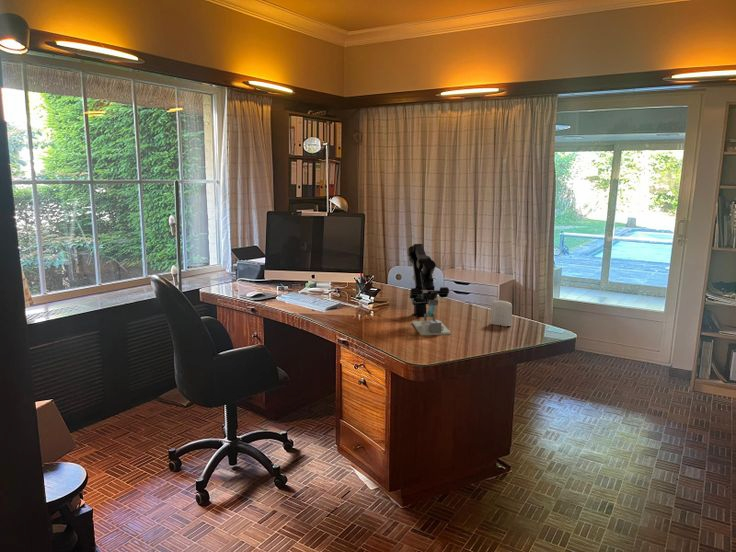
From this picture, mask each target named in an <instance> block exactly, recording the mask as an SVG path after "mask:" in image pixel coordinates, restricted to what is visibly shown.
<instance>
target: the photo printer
mask: <svg viewBox="0 0 736 552" xmlns="http://www.w3.org/2000/svg"><path fill="white" fill-rule="evenodd" d="M490 313H491V314H490V324H491V325H494V326H495V325H496V326H500V325H501V327H507V326H511V327H512V319H513V318H512V317H513V304H512V303H511V302H509V301H506V300H493V301H492V302H491V312H490Z"/></svg>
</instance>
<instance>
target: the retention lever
mask: <svg viewBox="0 0 736 552" xmlns="http://www.w3.org/2000/svg"><path fill="white" fill-rule="evenodd" d="M436 306H439V300H438V299H434V300H429V305H428V308H427V311H426V314H427V316H426V318H433V314H435V310H436Z"/></svg>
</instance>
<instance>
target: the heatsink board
mask: <svg viewBox="0 0 736 552" xmlns="http://www.w3.org/2000/svg"><path fill="white" fill-rule="evenodd" d="M426 314H427V313H426ZM426 314H424V316H423V320H416V321H415V320H413V321H412V325H413V326H414V327H415V329H416V331H417V332H418V333H419V335H420V336H421V335H422V336H441V335H443V336H444V335H445V336H446V335H452V334H451V333H452V332H451V331H450V330H449V329H448V328H447V326H446V325H445V324H444V323H443V321H441V320H440V319H436V314H435V313H434V314H433V317H432V319H428V320H427V317H426V316H427V315H426Z"/></svg>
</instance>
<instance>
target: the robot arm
mask: <svg viewBox="0 0 736 552" xmlns="http://www.w3.org/2000/svg"><path fill="white" fill-rule="evenodd" d="M425 251H426V250H425V248H424V244H422V243H414V244H413V245H411V246H409V247H408V249H407V253H406V254H407V256H408V260H409V261H410V263H411V264H412V268H413V270H412V271H413V278H414V285H415V287H413V288H412V287H411V289H410V290H409V294H408V295H409V299H411V304H412V305H413V313H411V315H412V316H414V317H419V318H420V317H424V314H426V315H427V305H428V306H429V300H437V298H438V296H439V297H440V298H448V296H449V293H450V290H449V288H448V286H447V287H446V286H444V287H443V286H442V287H439V290H438V289H435V288H436V286H435V285H434V284H435V283H434V278H433V274H434V271H435V269H436V266H437V265H436V264H437V263H436V262H435V261H434V260H432V258H431V257H430V256H429V255H427V253H426V252H425Z"/></svg>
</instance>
